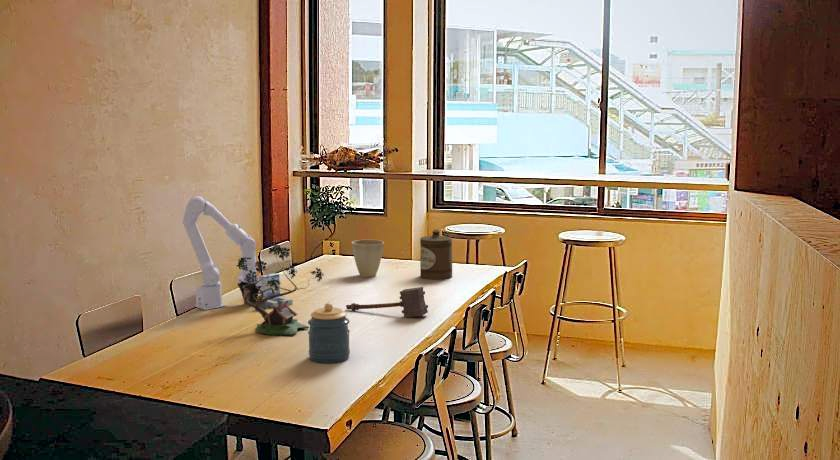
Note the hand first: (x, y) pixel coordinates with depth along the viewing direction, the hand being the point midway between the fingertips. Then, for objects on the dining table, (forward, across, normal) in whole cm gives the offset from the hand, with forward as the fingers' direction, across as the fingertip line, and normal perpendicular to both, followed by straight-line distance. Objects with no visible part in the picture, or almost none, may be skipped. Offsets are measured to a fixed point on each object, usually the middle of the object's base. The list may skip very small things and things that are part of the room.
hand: (249, 301), depth 341 cm
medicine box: (+2, +10, -16) cm, 18 cm away
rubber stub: (+2, -10, 0) cm, 10 cm away
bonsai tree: (+2, -46, +14) cm, 48 cm away
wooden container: (+2, -10, -94) cm, 94 cm away
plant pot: (+2, +12, -72) cm, 73 cm away
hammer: (+2, -48, -30) cm, 57 cm away
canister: (+2, -80, +20) cm, 82 cm away
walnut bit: (+2, 0, 0) cm, 2 cm away
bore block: (+1, -7, -8) cm, 11 cm away
